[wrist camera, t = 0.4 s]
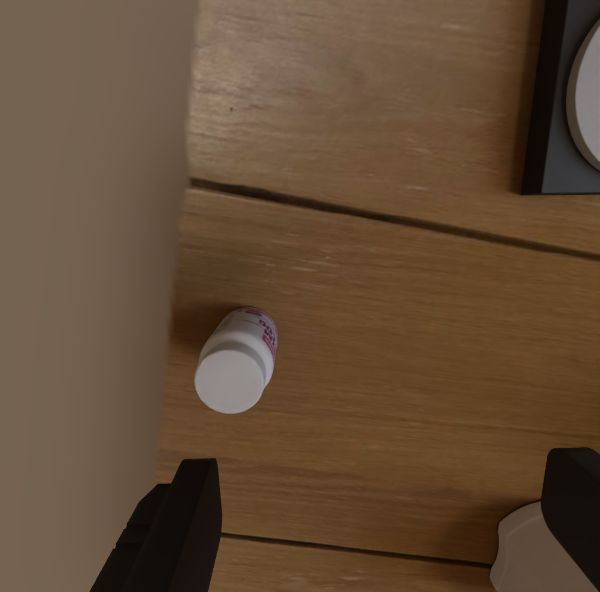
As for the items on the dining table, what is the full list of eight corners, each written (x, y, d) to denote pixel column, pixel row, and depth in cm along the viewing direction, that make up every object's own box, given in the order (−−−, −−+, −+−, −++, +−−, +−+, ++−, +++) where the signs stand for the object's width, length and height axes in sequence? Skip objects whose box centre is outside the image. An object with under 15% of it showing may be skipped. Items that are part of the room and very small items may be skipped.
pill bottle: (290, 331, 28) (288, 379, 20) (253, 373, 29) (236, 436, 20) (243, 293, 27) (221, 327, 19) (206, 337, 28) (169, 388, 20)
